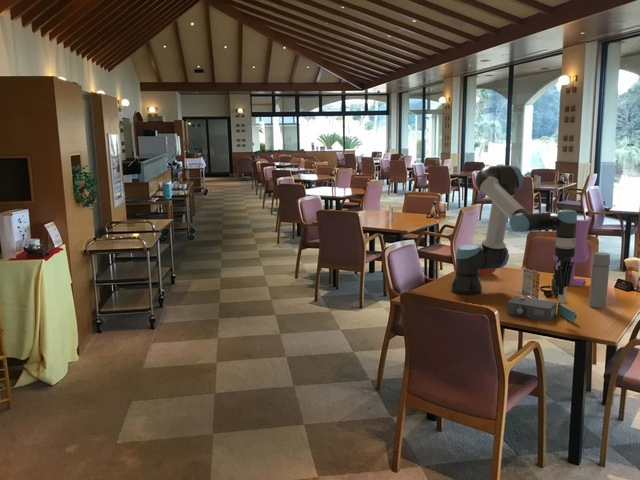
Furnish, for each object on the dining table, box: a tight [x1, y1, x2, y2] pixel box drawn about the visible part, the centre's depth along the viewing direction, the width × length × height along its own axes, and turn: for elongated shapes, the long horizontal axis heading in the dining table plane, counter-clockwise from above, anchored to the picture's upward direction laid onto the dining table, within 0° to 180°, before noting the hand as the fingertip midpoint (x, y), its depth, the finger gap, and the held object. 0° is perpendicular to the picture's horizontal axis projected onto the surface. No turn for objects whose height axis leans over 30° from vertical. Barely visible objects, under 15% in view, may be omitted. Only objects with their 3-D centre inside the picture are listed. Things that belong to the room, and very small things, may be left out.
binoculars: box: [539, 273, 559, 299], centre depth 278 cm, size 9×11×10 cm
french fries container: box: [475, 243, 496, 276], centre depth 322 cm, size 5×11×18 cm, turn 89°
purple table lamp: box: [552, 216, 593, 288], centre depth 301 cm, size 16×16×35 cm
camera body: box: [506, 295, 558, 322], centre depth 250 cm, size 18×14×6 cm
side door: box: [556, 301, 578, 323], centre depth 244 cm, size 2×13×5 cm, turn 5°
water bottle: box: [588, 251, 611, 309], centre depth 260 cm, size 9×8×25 cm
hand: (561, 301), depth 240 cm, fingers closed
